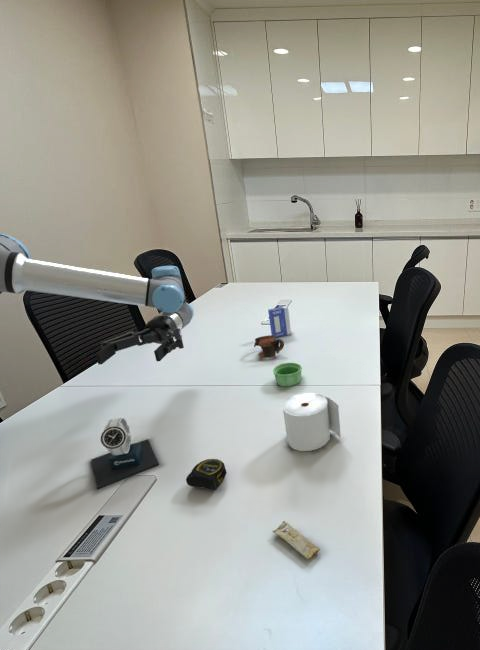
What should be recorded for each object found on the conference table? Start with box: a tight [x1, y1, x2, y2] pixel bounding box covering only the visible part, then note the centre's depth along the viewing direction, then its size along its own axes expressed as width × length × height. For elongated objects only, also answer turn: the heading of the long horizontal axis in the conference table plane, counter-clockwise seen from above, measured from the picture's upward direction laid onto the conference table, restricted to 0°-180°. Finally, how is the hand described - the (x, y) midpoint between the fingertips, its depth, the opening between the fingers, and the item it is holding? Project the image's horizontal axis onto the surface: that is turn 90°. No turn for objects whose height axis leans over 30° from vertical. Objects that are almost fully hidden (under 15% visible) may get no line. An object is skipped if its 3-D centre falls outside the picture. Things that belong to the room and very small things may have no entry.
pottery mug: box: [253, 334, 285, 360], centre depth 144 cm, size 12×10×8 cm
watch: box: [100, 417, 143, 470], centre depth 87 cm, size 6×8×11 cm
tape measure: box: [185, 458, 228, 491], centre depth 82 cm, size 7×7×4 cm
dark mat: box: [90, 438, 160, 490], centre depth 89 cm, size 12×12×1 cm
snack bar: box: [272, 520, 321, 559], centre depth 68 cm, size 10×2×3 cm
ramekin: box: [272, 362, 303, 387], centre depth 124 cm, size 9×9×4 cm
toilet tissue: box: [282, 392, 342, 452], centre depth 95 cm, size 11×12×10 cm
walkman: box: [267, 305, 292, 339], centre depth 160 cm, size 8×3×12 cm, turn 126°
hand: (127, 357), depth 93 cm, fingers open, 13 cm apart
